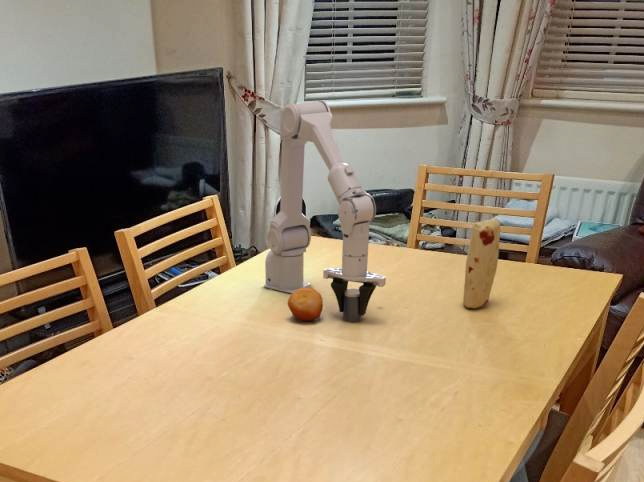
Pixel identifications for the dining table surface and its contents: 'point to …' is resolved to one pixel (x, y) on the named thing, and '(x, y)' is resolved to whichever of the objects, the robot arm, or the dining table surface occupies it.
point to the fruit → (305, 304)
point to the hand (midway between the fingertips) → (352, 312)
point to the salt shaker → (351, 305)
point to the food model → (481, 262)
